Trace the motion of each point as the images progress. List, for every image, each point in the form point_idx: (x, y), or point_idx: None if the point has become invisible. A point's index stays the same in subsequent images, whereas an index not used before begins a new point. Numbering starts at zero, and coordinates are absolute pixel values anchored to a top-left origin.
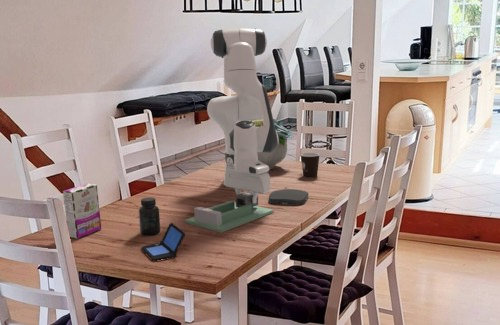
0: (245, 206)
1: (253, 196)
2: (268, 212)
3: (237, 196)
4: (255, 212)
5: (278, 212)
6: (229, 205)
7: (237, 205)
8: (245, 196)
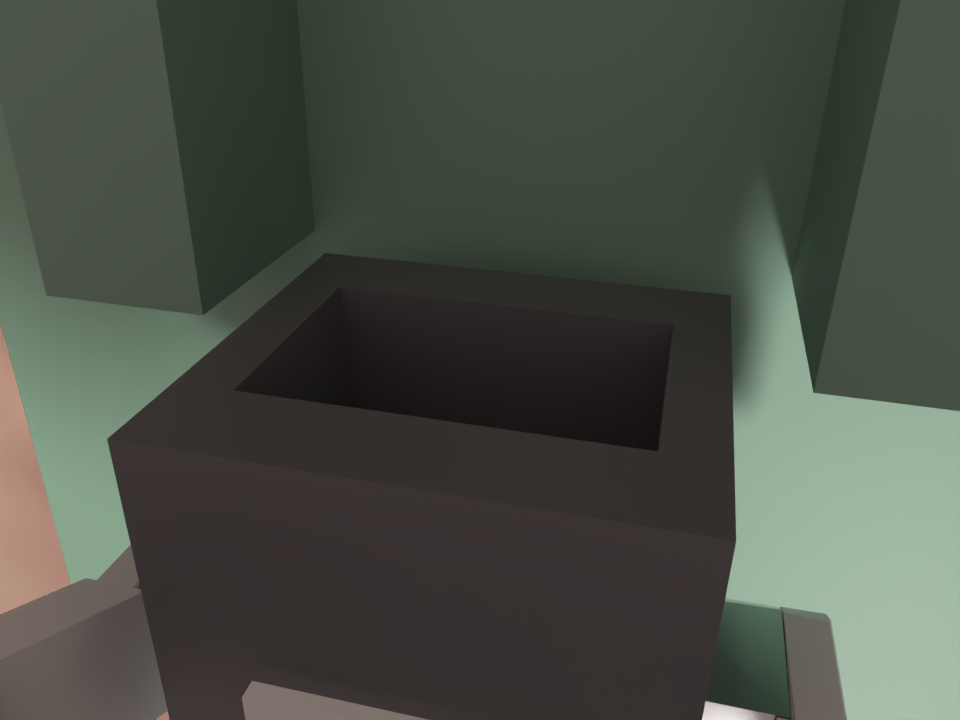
0: (73, 97)
1: (12, 638)
2: (48, 459)
3: (610, 499)
4: (174, 314)
5: (60, 588)
6: (868, 72)
7: (656, 312)
8: (227, 553)
